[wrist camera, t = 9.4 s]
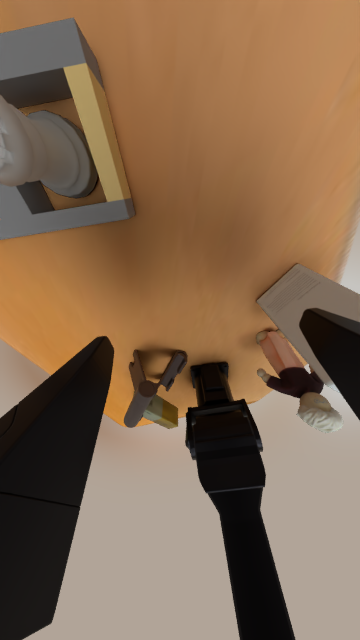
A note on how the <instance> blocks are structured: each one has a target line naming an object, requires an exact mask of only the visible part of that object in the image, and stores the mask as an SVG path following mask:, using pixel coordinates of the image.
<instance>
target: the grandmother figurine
mask: <svg viewBox="0 0 360 640" xmlns="http://www.w3.org/2000/svg"><path fill="white" fill-rule="evenodd" d="M285 338H286V337H285V336H284V334H283V333H282V332H281V331H280V330H277V331H276V332H274V331H271V332H268V331H262V332H260V333H258V334H257V336H256V340H257V344H259V345H260V346H261V348H262V350H263V352H264V354H265V356H266V358H267V359H268V361H269V363H270V364H271V365H272V367H273V368H274V370H275V371H276V373H277V374H278V376H279V377H280V379H279V378H277V377H274V376H271V375H269V374H267V373H266V372H265V370H263V369H258V370H257V375H258V376H260V377H261V378H262V380H263V381H264V382H266V383H267V384H266V385H267V386H268V387H270V388H272V389H274V390H276V391H278V392H281V393H284V394H287V395H291V396H293V397H297V398H300V407H299V409H298V413H297V415H298V416H299V417H300V418H301V419H302V420H303V421H304V422H306V423H307V424H308V425H310V426H312V427H314V428H316V429H318V430H320V431H322V432H325V433H329V432H334V431H337V430H339V429H341V428H342V426H343V419H342V417H341V415H340V414H339V413H338V412H337V411H336V410H334V409H333V408H332V407H331V405H330V403H329V402H328V400H327V399H326V398H325V397H323V396H322V395H320V393H321V391H322V389H323V385H324V383H323V381H322V380H321V379H320V377H319V376H318V375H317V374H316V372H315V371H314V370H313V368H312V367H311V366H310V365H309V367H310V371H311V374H309V373H308V372H307V371H306V370H305V368H304V366H303V364H302V362H301V361H300V360H299V358H298V357H297V356H296V354H295V353H294V351H293V350H292V348H291V347H290V345H289V344H288V342H287V341H286V340H285Z"/></svg>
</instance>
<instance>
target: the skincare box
mask: <svg viewBox="0 0 360 640" xmlns="http://www.w3.org/2000/svg"><path fill="white" fill-rule="evenodd" d="M257 303H258V304H259V305H260V307H261V308H262V309H263V310H264V311H265V313H266V314H267V315H268V316H269V317H270V319H271V320H272V321H273V322H274V324H275V325H276V326H277V327H278V328H279V330H280V331H281V332H282V333H283V334H284V336H285V337H286V338H287V339H288V340H289V342H290V343H291V344H292V345H293V346H294V348H295V349H296V350H297V351H298V352H299V354H300V355H301V356H302V357H303V358H304V359H305V361H306V362H307V363H308V364H309V365H310V366H311V367H312V368H313V370H314V371H315V372H316V374H317V375H318V376H319V377H320V379H321V380H322V381H323V383H324V384H325V385H327V386H328V387H330V388H332V389H334V390H335V391H337V392H339V390H338V389H337V387H336V386H335V384H334V383H333V382H332V380H331V379H330V377H329V376H328V374H327V373H326V372H325V370H324V369H323V367H322V366H321V364H320V363H319V361H318V360H317V358H316V357H315V355H314V354H313V352H312V350H311V348H310V346H309V345H308V343H307V341H306V339H305V337H304V335H303V334H302V332H301V330H300V328H299V322H300V320H301V317H302V315H303V312H304V311H305V310H306V309H309V308H319V309H322V310H325V311H328V312H331V313H334V314H337V315H340V316H343V317H346V318H349V319H352V320H355V321H358V322H360V294H358V293H355V292H353V291H352V290H350V289H348V288H346V287H344V286H342V285H340V284H338V283H336V282H334V281H332V280H330V279H328V278H326V277H324V276H322V275H320V274H318V273H316V272H314V271H312V270H310V269H308V268H306V267H304V266H303V265H301V264H296V265H295V266H294V267H293V268H292V269H291V270H290V271H289V272H287V273H286V274H285V275H284V276H283V277H282V278H281V279H280V280H279V281H278V282H277V283H275V284H274V285H273V286H272V287H271V288H270V289H269V290H268V291H267V292H266V293H265V294H263V295H262V296H261V297H260V298H259V299H258V300H257ZM339 393H340V392H339Z"/></svg>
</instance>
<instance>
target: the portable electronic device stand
mask: <svg viewBox="0 0 360 640" xmlns="http://www.w3.org/2000/svg"><path fill="white" fill-rule="evenodd" d="M133 357H134V361H135V362H134V365H133V364H132V362H130V364H129V370H130V374H131V378H132V382H133V386H134V390H135V395H134V397H133V399H132V401H131V403H130V406H129V408H128V410H127V412H126V415H125V417H124V423H125V425H126V426H127V427H130V428H132V427H135V426H136V425H137V424H138V422H139V421H140V420H141V418H142V417H143V413H144V412H145V410H146V408H147V406H148V405H149V403H150V401H151V400H152V398H154V396H155V395H156V393H157V391H158V390H157V389H158V387H159V386H160V385H163V386H165V387H166V391H168V390H169V389H170V387H171V386H172V384H173V383H174V378H175V377H176V375H177V373H178V374H180V372H181V371H182V369H183V368H184V366H185V365H186V363H187V354H186V353H185V352H184V351H181V350H178V351H177V352H176V353H175V354H174V356H173V357H172V358H173V359H172V360H171V362H170V364H169V366H168V367H167V369H166V371H165V373H164V374H163V376H162V377H161V379H160V381H159V382H158V383H153V382H151V381H149V380H146V377H145V374H144V371H143V368H142V364H141V361H140V358H139V355H138V352H137V350H134V353H133Z"/></svg>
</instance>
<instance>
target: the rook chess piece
mask: <svg viewBox="0 0 360 640" xmlns="http://www.w3.org/2000/svg"><path fill="white" fill-rule="evenodd" d="M38 180H40V181H41V182H42V183H43V185H45V186H46V187H48V188H49V189H51V190H52V191H54V192H55V193H57V194H59V195H63V196H67V197H73V198H80V197H85V196H87V195H88V194H89V193H90V192H91V191H92V190H93V189H94V186H95V183H96V180H97V169H96V166H95V163H94V160H93V157H92V154H91V151H90V148H89V145H88V142H87V139H86V138H85V136H84V135H83V133H82V132H81V130H80V129H78V128H77V127H76V126H75V125H74V124H73V123H71V122H70V121H69V120H68V119H66V118H63V117H61V116H60V115H57V114H54V113H51V112H49V111H46V110H43V111H38V112H34V113H30V114H29V115H28V116H27V117H26V116H25V115H24V114H23V113H22V112H20V111H19V110H18V109H17V108H15V107H14V106H13V105H11V104H8V103H7V102H6V101H5V99H4V98H3V97H2V96H1V95H0V184H3V185H6V186H10V187H13V186H17V185H22V184H24V183H25V182H26V181H27V182H33V181H38Z"/></svg>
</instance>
